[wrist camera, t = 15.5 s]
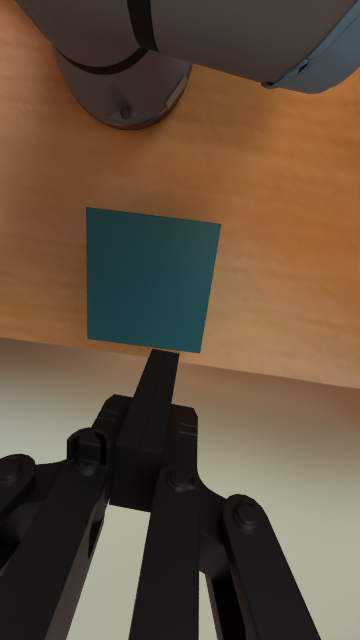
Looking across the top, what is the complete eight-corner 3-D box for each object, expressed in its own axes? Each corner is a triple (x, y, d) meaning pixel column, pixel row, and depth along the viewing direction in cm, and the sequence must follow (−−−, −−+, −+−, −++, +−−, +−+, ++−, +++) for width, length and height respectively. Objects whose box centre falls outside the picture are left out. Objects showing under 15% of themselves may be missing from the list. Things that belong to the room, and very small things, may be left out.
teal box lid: (89, 336, 34) (87, 339, 33) (88, 207, 29) (85, 207, 28) (199, 350, 34) (199, 353, 33) (220, 224, 29) (221, 224, 28)
